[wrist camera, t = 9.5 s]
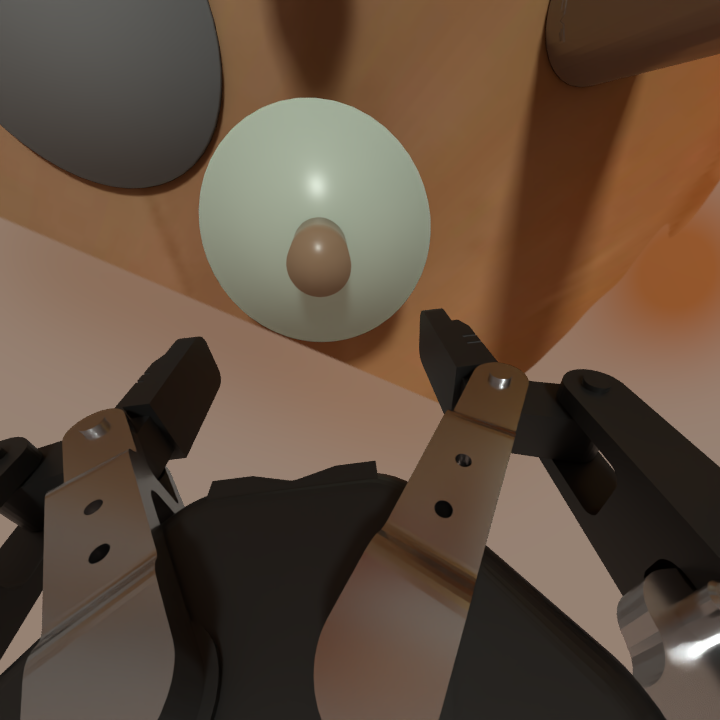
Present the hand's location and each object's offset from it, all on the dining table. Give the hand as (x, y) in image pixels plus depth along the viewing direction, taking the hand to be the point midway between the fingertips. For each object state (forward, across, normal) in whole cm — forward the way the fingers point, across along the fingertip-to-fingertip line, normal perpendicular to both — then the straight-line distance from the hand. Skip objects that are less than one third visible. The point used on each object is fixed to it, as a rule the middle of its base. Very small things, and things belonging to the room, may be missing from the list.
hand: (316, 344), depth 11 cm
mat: (+22, +15, -14) cm, 31 cm away
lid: (+15, 0, 0) cm, 15 cm away
